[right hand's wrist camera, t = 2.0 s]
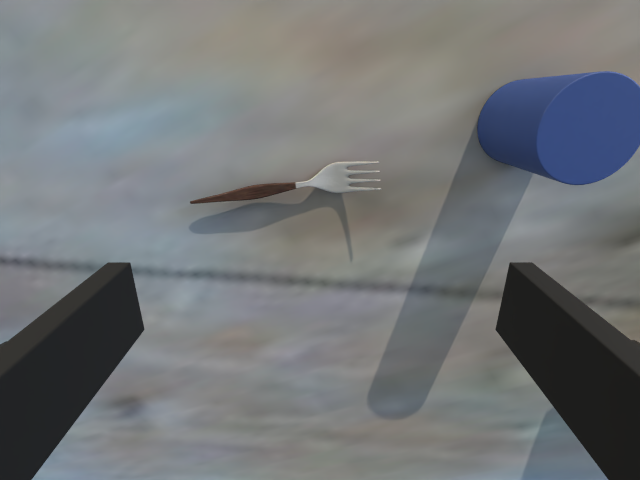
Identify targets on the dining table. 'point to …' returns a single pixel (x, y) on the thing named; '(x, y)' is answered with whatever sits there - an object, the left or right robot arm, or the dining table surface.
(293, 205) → the dining table surface
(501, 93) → the canister
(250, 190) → the fork
